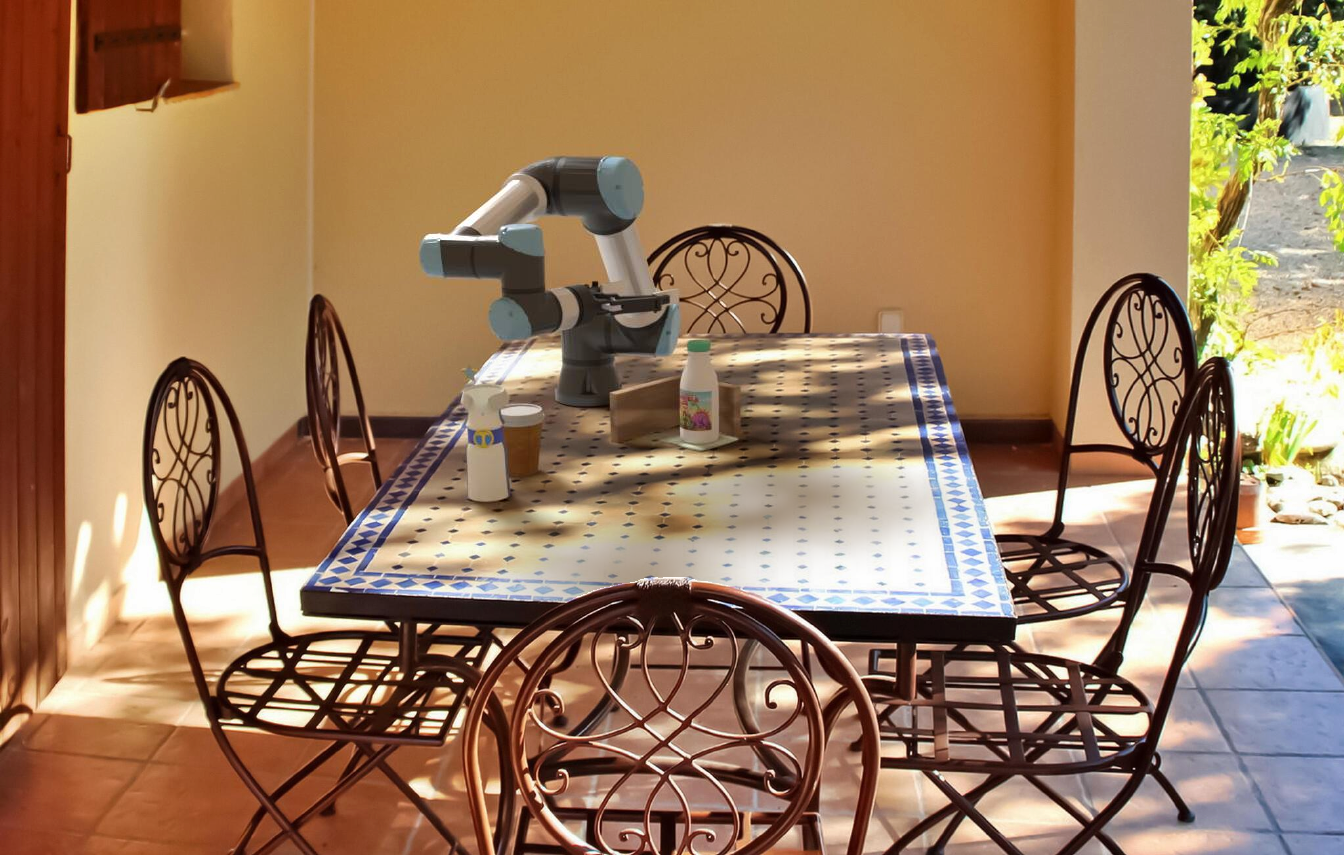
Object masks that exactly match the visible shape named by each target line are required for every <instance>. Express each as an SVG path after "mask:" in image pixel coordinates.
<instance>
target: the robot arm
mask: <svg viewBox="0 0 1344 855" xmlns="http://www.w3.org/2000/svg"><path fill="white" fill-rule="evenodd" d="M643 180H644V179H643V177H642V173H641V172H640V168H639V167H638V166H637V164H636V163H635V162H634V161H633V160H631V159H630V158H626V157H621V156H620V157H619V156H618V157H617V156H615V155H607V156H584V155H583V156H582V155H581V156H578V155H577V156H574V155H573V156H572V155H571V156H569V155H568V156H567V155H566V156H565V155H555V156H549V157H545V158H542V159H540V160H539V159H538V161H534V162H533V163H530V164H528V165H525V166H524V167H522V168H520V169H518V170H517V171H515V172H514V173H513V174H511V175H510V176H508V178H507V179H505V181H504V182H503V183H502V185H501V187H500V191H499V192H498V193H497V194H495V195H494V196H493V197H492V198H490V199H489V200H488V201H487V202H485V203H484V204H483V205H481V206H480V207H479V208H478V209H477V210H475V211H474V212H473V213H472V214H470V216H468V217H467V218H465V220H463V221H462V222H461V223H460V224H458V225H457V226H456V227H455V228H453V229H452V230H451V231H450V232H449V233H446V234H444V233H441V232H438V233H430V234H427V235H426V236H424V238H423V239H422V241H421V242H420V246H419V252H418V253H419V254H418V257H419V262H420V267H421V270H422V272H423V273H424V274H425V275H427V276H428V277H435V278H443V279H461V280H462V279H463V280H467V279H468V280H471V279H472V280H487V281H488V280H490V281H500V283H501V297H500V298H498V299H496V300H494V301H493V302H492V303H491V305H490V310H489V311H488V323H489V326H490V329H491V331H492V332H493V334H494V335H495V336H496V337H497V338H498V339H499V340H502V341H503V342H512V341H513V342H514V341H519V340H523V341H524V340H528V339H530V338H534V337H539V336H543V335H544V336H545V335H548V334H553V335H555V336H557V335H558V334H559V332H560V340H561V341H560V343H561V361H562V364H561V365H562V366H561V369H560V373H559V378H558V382H557V385H556V386H555V389H554V390H555V393H554V394H555V395H554V396H555V400H556V401H557V402H558V403H560V404H563V405H568V406H574V407H598V406H599V407H600V406H605V405H606V406H607V405H610V392H614V391H618V390H622V389H624V385H623V384H622V382H621V378H620V375H619V372H618V369H617V366H616V362H615V360H616V359H615V355H623V356H636V357H649V358H660V357H661V358H662V357H663V358H664V357H666V358H667V357H669V356H671V355H672V354H673V353H674V352H675V350H676V347H677V344H678V340H679V338H680V337H679V335H680V329H681V317H682V316H681V308H680V305H679V304H680V288H671V289H666V290H660V289H659V288H657V287H656V286H655V283H654V280H653V277H652V273H651V270H650V267H649V264H648V261H647V257H646V254H645V250H644V247H643V244H642V241H641V237H640V233H639V230H638V228H637V224H636V221H637V219H638V218H639V217H638V216H639V215H640V214H641V212H642V210H643V208H644V204H645V203H644V202H645V190H644V181H643ZM542 217H574V218H575V217H576V218H578V217H579V218H580V221H581V223H582V226H583V228H584V230H585V231H586V232H588V233H589V234H591V235H594V239H595V241H596V244H597V247H598V249H599V250H598V251H599V253H600V256H601V259H602V262H603V265H604V268H605V270H606V273H607V277H608V279H609V282H606V283H601V284H599V281H598V280H594V281H593V280H592V281H591V286H590V284H588V283H584V284H575V285H574V284H573V285H568V286H563V287H557V288H556V287H555V288H552V289H551V288H550V289H547V290H546V262H545V261H546V260H545V258H546V257H545V254H546V250H545V243H544V235H543V234H544V233H543V230H542V228H541V227H540V226H538V225H536V224H532V223H533V222H536V221H537V220H539V219H540V218H542ZM530 223H531V224H530Z"/></svg>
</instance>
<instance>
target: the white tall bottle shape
mask: <svg viewBox="0 0 1344 855" xmlns="http://www.w3.org/2000/svg"><path fill="white" fill-rule="evenodd" d="M460 371H461V372H462V373H463V374H464V375H465V376H464V382H467V381H469V380H471V381H472V382H474V383H476V378H475V375H476V374H477V373H478V372H479V370H477V369H474V368H473V367H472V366H471V364H470V362H468V365H467V367H466V368H462V369H460ZM510 400H511V397H510V395H509V393H508V392H507V390H506V388H505V386H504V385H500V384H489V383H487V384H486V383H483V384H476V385H471V386H467V387H465V388H464V389H463V391H462V396H461V399H460V405H462V407H463V408H464V409H465V410H466V411H467V418H466V421H465V422H464V425H465V427H466V430H467V431H466V432H467V443H466V450H465V451H466V452H465V453H466V454H465V455H466V478H467V479H466V482H467V484H466V486H467V488H466V489H467V492H466V494H467V495H466V496H467V498H468V499H470V500H471V501H474V502H475V501H476V502H484V503H485V502H497V501H500V500H504V499H507V498H508V497H510V496H511V494H512V493H511V484H510V475H509V473H508V460H507V448H506V443H505V441H504V435H503V425H504V423H505V420H504V419H503V418H502V415H501V408H503V407H504V406H506V405H509V404H508V403H509V402H510Z"/></svg>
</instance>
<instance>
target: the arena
mask: <svg viewBox="0 0 1344 855" xmlns="http://www.w3.org/2000/svg"><path fill="white" fill-rule="evenodd" d="M682 374H683V373H681V374H675V375H673V376H669V377H668V376H667V377H665V378H661V379H658V380H653V381H650V382H649V381H648V382H645V383H642V384H638V385H634V386H629V387H626V388H623V389H622V390H618V391H614V392H610V404H609V411H610V412H609V418H610V419H609V420H610V423H609V424H610V441H611V442H613V443H616V444H618V443H622V442H625V441H629V440H633V439H637V438H639V437H644V436H647V435H650V434H653V433H656V432H660V431H663V430H666V429H670V428H673V427H677V426H680V382H681V377H682ZM718 390H719V437H718V440H717V441H715V442H712V443H707V444H692V443H687V442H684V441H682V440H681V438H680V434H675V435H671V436H669V437H665V438H663V439H662V438H661V439H660V442H662V443H666V444H669V445H673V446H676V447H681V448H685V449H689V450H691V451H696V452H700V453H702V452H705V451H707V450H711V449H714V448H718V447H720V446H724V445H727V444H730V443H733V442H737V441H739V438H737V437H735V436H738V435H741V434H742V432H741V422H742V420H741V385H738V384H737V385H736V384H732V383H727V382H723V381H718Z"/></svg>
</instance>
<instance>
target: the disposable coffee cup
mask: <svg viewBox="0 0 1344 855" xmlns="http://www.w3.org/2000/svg"><path fill="white" fill-rule="evenodd" d="M501 415H502V418H503V419H504V420H505V423H504V425H503V435H504V441H505V443H506V448H507V460H508V473H509V476H511V477H528V476H532V475H534V474H536V473H538V471H539V463H540V462H539V461H540V453H541V452H540V451H541V450H540V449H541V441H542V429H543V421H544V418H545V413H544V412H543V408H542V406H540V405H536V404H531V403H512V404H507V405H506V406H504V407H503V408H501Z"/></svg>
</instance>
